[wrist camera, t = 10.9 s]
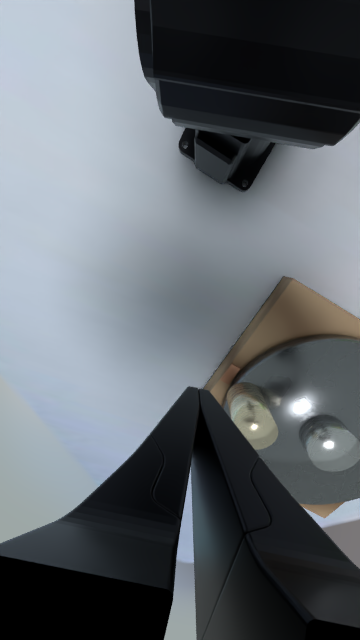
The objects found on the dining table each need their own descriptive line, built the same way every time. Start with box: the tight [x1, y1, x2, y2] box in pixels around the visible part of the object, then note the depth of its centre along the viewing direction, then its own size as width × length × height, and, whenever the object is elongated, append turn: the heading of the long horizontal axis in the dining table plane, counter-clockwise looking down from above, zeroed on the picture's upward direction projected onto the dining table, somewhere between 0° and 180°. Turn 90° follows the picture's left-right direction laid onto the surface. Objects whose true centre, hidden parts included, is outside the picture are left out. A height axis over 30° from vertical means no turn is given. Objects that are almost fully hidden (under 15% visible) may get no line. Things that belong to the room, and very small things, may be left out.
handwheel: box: [221, 334, 360, 505], centre depth 18 cm, size 18×18×6 cm
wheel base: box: [203, 276, 360, 518], centre depth 22 cm, size 20×20×2 cm
